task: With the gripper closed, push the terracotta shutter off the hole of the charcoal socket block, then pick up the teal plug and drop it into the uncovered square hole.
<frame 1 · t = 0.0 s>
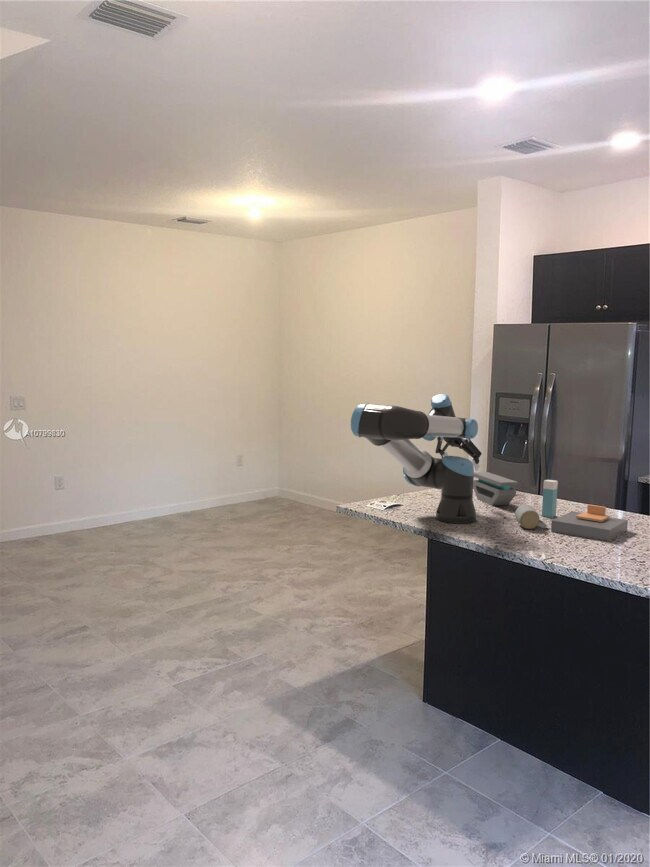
hand: (462, 466, 292), 15 cm above the worktop, tool tilted 35°, fingers open, 13 cm apart
terracotta shutter: (593, 512, 250), point 6 cm above the worktop, slide at 0.0 cm
ceramic mug: (530, 527, 253), on the worktop
socket block: (589, 531, 248), on the worktop
teal plug: (548, 516, 271), on the worktop
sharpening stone: (492, 502, 296), on the worktop
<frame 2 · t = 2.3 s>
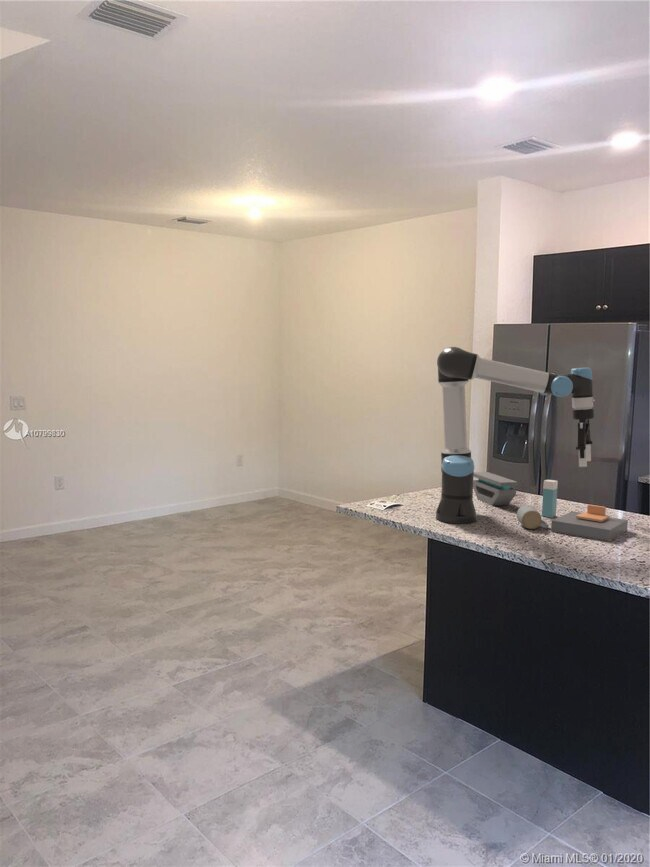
hand: (585, 463, 266), 21 cm above the worktop, tool pointing down, fingers open, 13 cm apart
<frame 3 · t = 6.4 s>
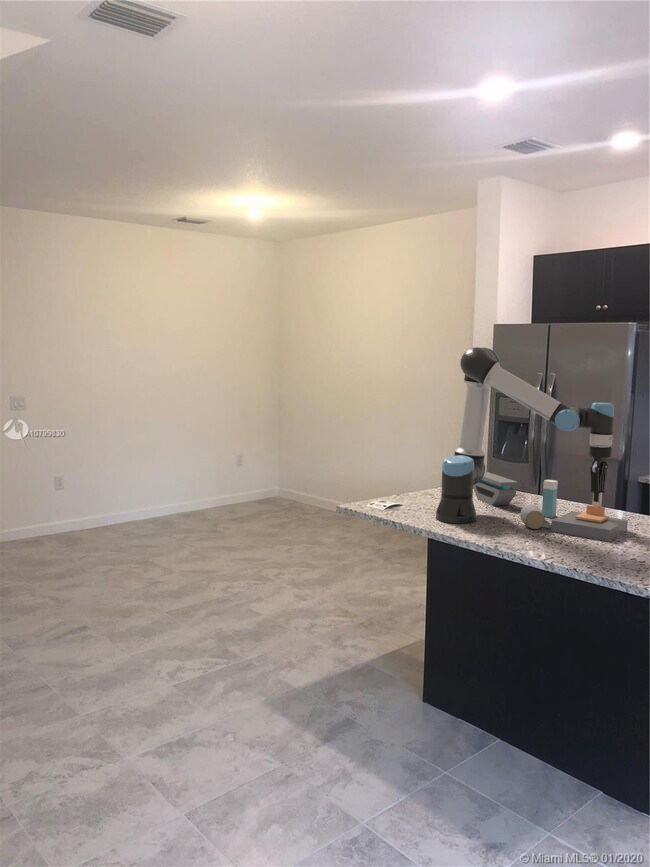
hand: (596, 510, 253), 6 cm above the worktop, tool pointing down, fingers closed
terracotta shutter: (592, 513, 249), point 6 cm above the worktop, slide at 1.1 cm, touching gripper
ceramic mug: (536, 528, 253), on the worktop
everything else where it was.
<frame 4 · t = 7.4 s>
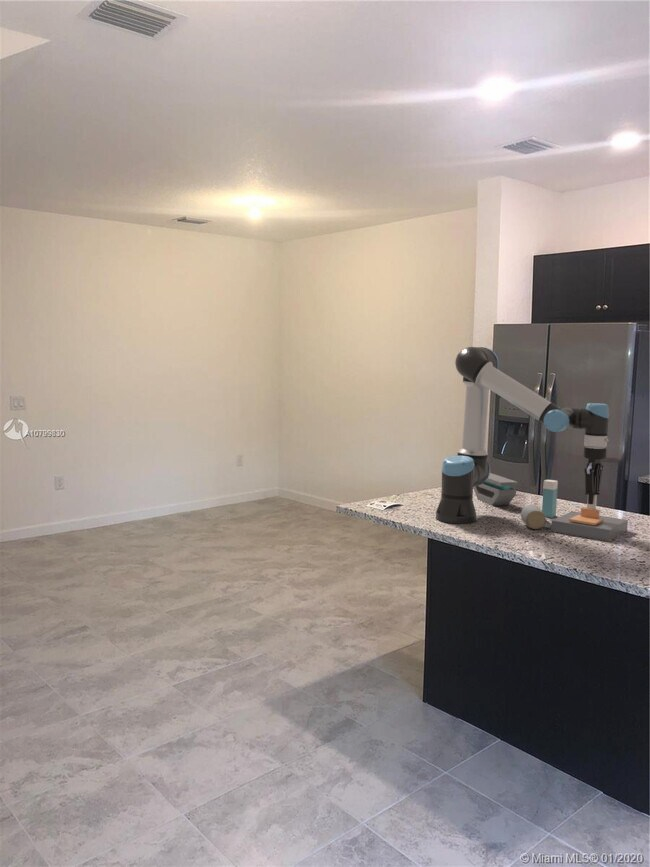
hand: (591, 512, 249), 6 cm above the worktop, tool pointing down, fingers closed
terracotta shutter: (586, 515, 245), point 6 cm above the worktop, slide at 6.7 cm, touching gripper
everything else where it was.
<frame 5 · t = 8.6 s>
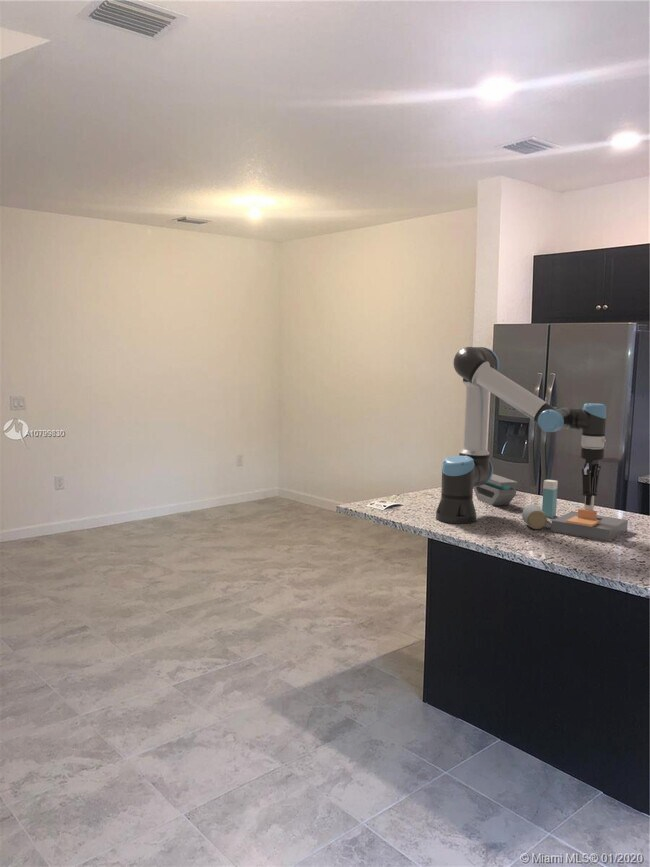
hand: (588, 513, 246), 7 cm above the worktop, tool pointing down, fingers closed
terracotta shutter: (583, 517, 243), point 6 cm above the worktop, slide at 9.6 cm, touching gripper
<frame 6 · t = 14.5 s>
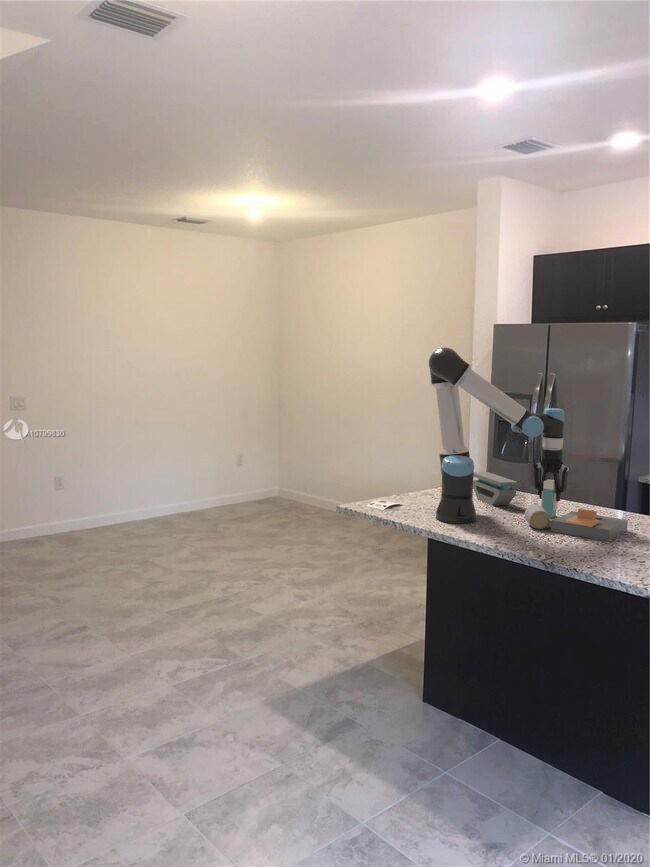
hand: (549, 508, 271), 3 cm above the worktop, tool pointing down, fingers closed on teal plug, 4 cm apart
terracotta shutter: (583, 517, 243), point 6 cm above the worktop, slide at 9.7 cm
ceramic mug: (540, 528, 253), on the worktop
teal plug: (548, 516, 271), on the worktop, touching gripper
everything else where it was.
when the fingers open (6 cm above the worktop, at t = 21.2 s): teal plug drops 3 cm, resting in socket block.
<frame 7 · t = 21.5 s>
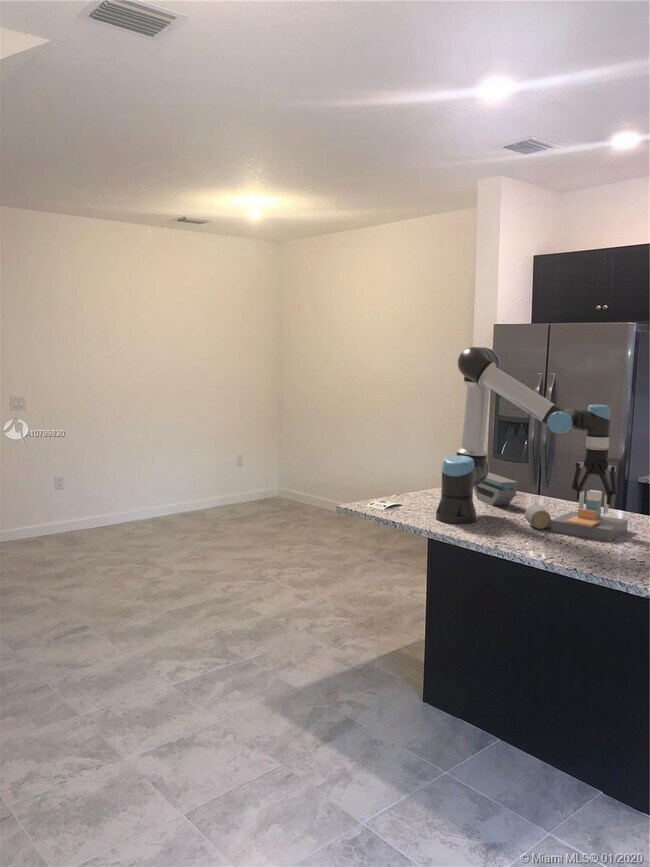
hand: (593, 511, 250), 7 cm above the worktop, tool pointing down, fingers open, 8 cm apart
teal plug: (592, 529, 251), resting in socket block
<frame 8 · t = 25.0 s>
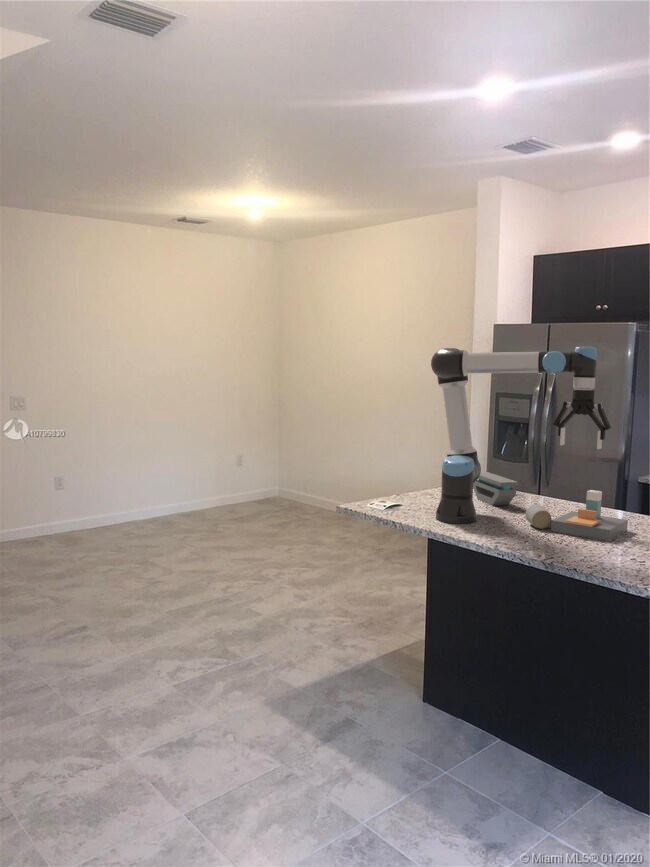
hand: (580, 446, 257), 29 cm above the worktop, tool pointing down, fingers open, 13 cm apart
ceramic mug: (541, 527, 254), on the worktop, touching socket block
everything else where it was.
at the end: terracotta shutter slide at 9.7 cm; teal plug 0.1 cm from the target spot on the socket block, point 0.0 cm above the socket block's base; teal plug tilted 0° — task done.
